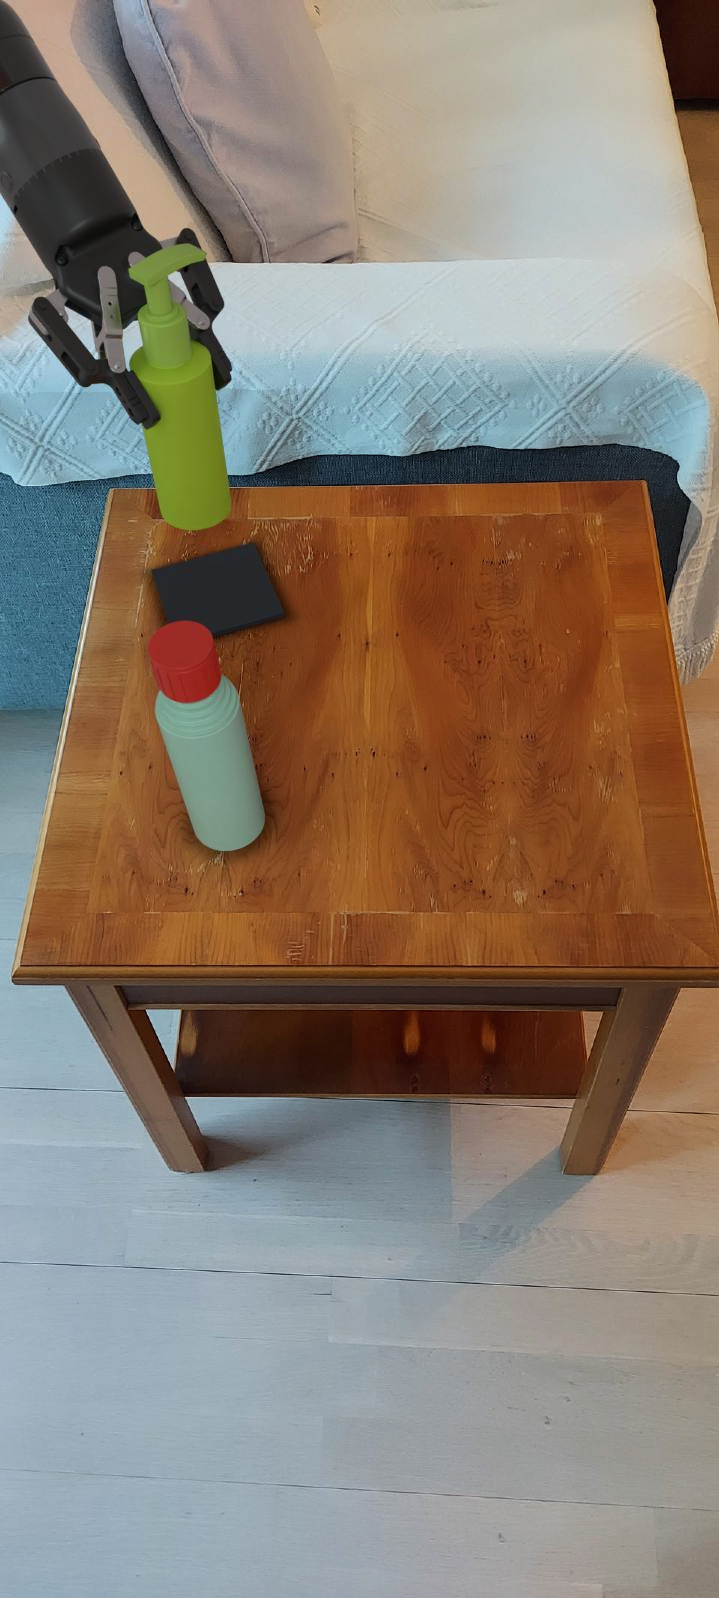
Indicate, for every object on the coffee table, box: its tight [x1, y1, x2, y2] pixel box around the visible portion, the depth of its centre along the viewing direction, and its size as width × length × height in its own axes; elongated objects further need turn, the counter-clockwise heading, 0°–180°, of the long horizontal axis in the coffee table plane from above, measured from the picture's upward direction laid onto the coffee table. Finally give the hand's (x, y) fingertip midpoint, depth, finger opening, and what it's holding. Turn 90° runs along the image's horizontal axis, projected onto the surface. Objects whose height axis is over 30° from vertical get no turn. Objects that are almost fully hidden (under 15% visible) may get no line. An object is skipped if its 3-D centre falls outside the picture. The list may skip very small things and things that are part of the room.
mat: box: [150, 542, 286, 638], centre depth 91 cm, size 10×10×1 cm
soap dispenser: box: [128, 244, 233, 531], centre depth 75 cm, size 6×7×20 cm
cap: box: [147, 621, 223, 703], centre depth 62 cm, size 4×4×3 cm
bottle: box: [154, 674, 266, 852], centre depth 70 cm, size 6×6×19 cm
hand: (189, 403), depth 74 cm, fingers closed on soap dispenser, 6 cm apart
